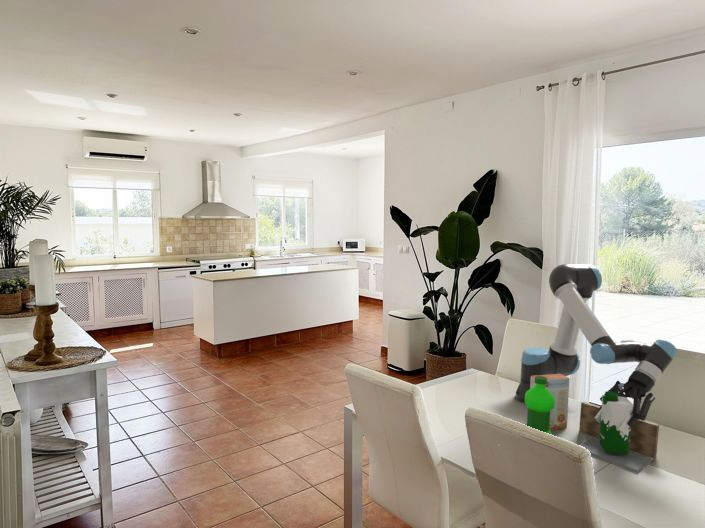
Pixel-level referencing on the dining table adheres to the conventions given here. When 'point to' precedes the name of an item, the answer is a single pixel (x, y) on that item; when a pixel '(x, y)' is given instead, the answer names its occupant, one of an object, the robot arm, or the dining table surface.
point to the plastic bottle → (539, 405)
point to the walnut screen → (640, 437)
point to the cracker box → (557, 398)
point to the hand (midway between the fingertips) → (608, 425)
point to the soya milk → (614, 423)
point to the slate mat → (617, 456)
